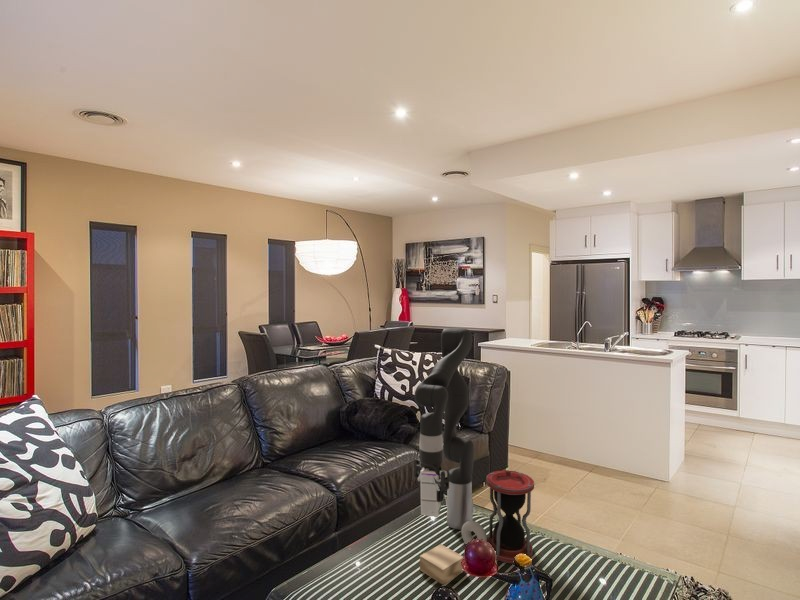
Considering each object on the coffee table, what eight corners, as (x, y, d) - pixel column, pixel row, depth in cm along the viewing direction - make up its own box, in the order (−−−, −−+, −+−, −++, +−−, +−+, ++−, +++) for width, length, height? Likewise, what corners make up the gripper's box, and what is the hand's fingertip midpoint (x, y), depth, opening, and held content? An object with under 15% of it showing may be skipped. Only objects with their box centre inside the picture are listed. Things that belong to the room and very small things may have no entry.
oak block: (440, 558, 161) (440, 544, 161) (463, 572, 154) (463, 556, 153) (419, 570, 154) (419, 555, 154) (442, 585, 147) (443, 569, 147)
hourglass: (541, 549, 166) (542, 478, 165) (518, 570, 154) (520, 494, 153) (500, 532, 177) (501, 466, 176) (476, 550, 165) (477, 479, 164)
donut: (459, 546, 168) (459, 518, 168) (464, 542, 171) (465, 514, 170) (483, 557, 161) (483, 528, 161) (488, 553, 164) (489, 524, 163)
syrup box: (438, 517, 151) (438, 472, 150) (420, 515, 152) (420, 470, 151) (441, 508, 156) (441, 465, 156) (423, 506, 158) (423, 463, 157)
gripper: (455, 450, 150) (455, 501, 151) (424, 438, 161) (424, 485, 162) (438, 456, 145) (437, 508, 146) (407, 443, 156) (407, 492, 157)
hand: (430, 496), depth 154 cm, fingers closed on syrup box, 7 cm apart
